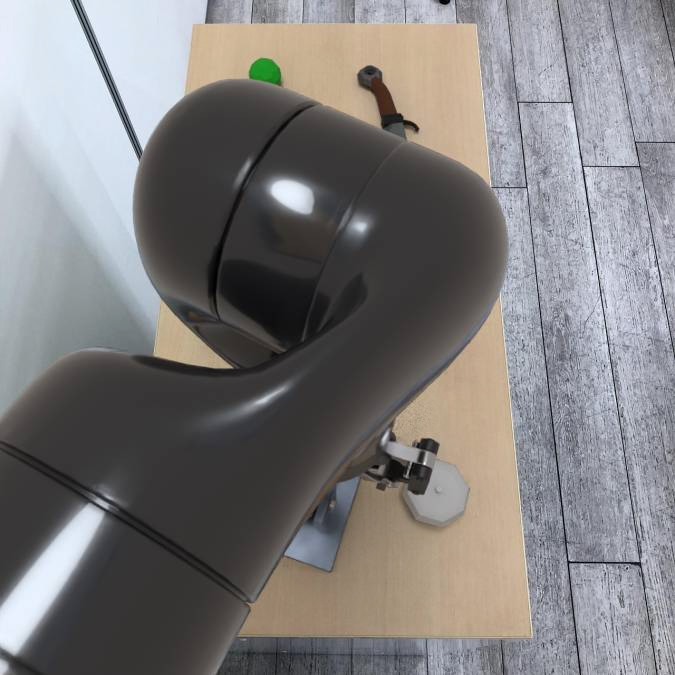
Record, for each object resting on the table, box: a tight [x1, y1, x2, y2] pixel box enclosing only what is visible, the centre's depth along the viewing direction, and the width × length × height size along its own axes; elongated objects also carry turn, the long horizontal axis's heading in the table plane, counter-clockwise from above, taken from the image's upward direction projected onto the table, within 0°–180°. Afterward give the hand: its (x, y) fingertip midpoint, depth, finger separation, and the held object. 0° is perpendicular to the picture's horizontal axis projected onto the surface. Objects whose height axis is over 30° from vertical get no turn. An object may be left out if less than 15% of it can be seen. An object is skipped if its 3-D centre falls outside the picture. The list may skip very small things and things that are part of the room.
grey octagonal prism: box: [402, 458, 471, 528], centre depth 73 cm, size 8×8×7 cm
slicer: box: [283, 477, 362, 573], centre depth 70 cm, size 12×9×13 cm
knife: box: [356, 64, 420, 141], centre depth 95 cm, size 9×2×30 cm
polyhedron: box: [248, 57, 282, 86], centre depth 98 cm, size 5×5×5 cm
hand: (331, 459), depth 49 cm, fingers open, 8 cm apart
